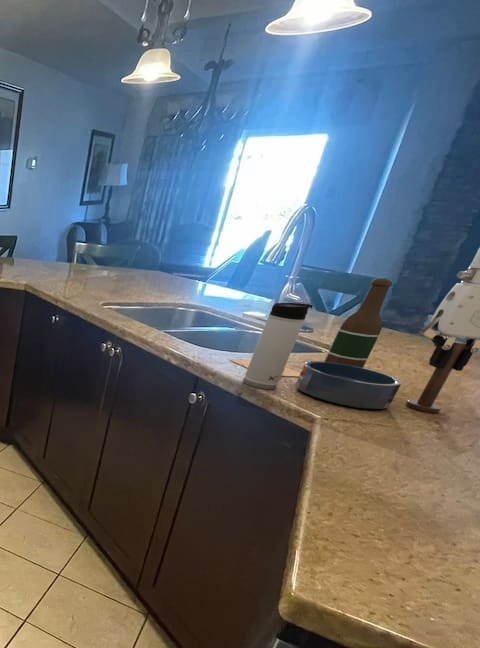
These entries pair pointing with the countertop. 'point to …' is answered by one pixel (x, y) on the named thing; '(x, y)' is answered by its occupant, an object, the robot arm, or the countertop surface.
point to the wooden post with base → (437, 382)
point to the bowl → (348, 385)
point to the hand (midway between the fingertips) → (444, 367)
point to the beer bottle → (360, 328)
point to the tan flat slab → (285, 373)
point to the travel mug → (275, 344)
